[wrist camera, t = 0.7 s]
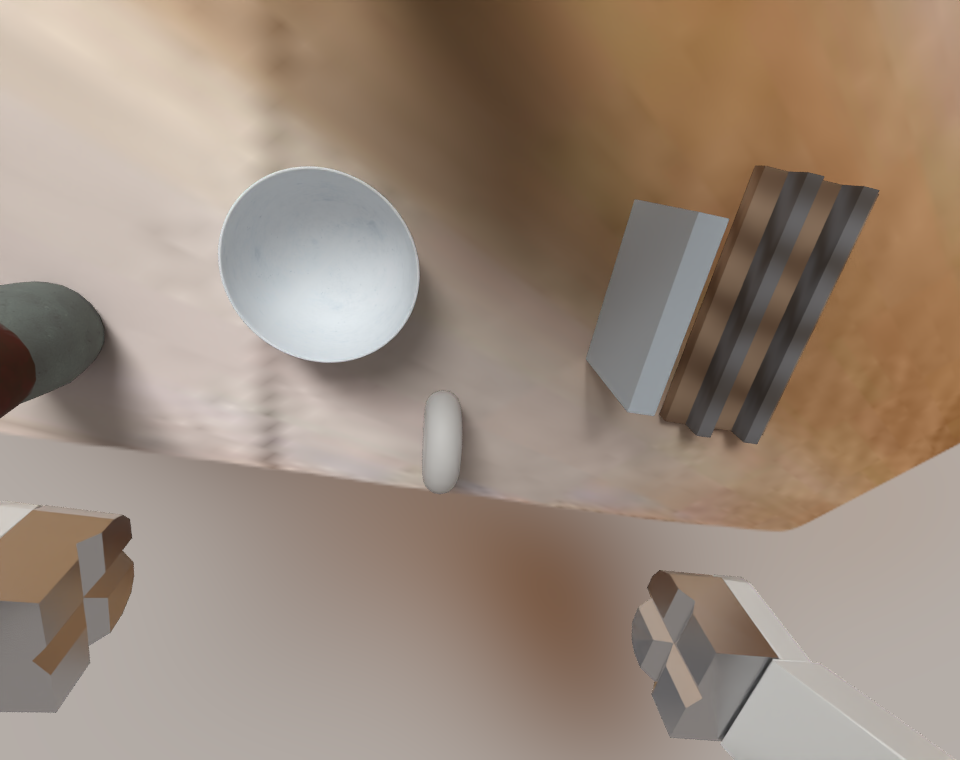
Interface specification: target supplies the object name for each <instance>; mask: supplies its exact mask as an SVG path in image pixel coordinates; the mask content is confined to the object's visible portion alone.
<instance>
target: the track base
mask: <svg viewBox="0 0 960 760" xmlns="http://www.w3.org/2000/svg"><path fill="white" fill-rule="evenodd" d="M823 179H824V176H821V175H817V174H813V173H809V172H788V171H784V170H780V169H776V168H772V167H768V166H755V168H754V170H753V173H752V176H751V178H750V181H749V183H748V186H747V189H746V191H745V194H744V196H743V199H742V202H741V204H740V207H739V209H738V212H737V215H736V217H735V220H734V222H733V225H732V227H731V230H730V233H729V235H728V238H727V240H726V243H725V246H724V248H723V251H722V253H721V256H720V259H719V261H718V264H717V266H716V269H715V272H714V274H713V277H712V279H711V282H710V285H709V287H708V290H707V292H706V295H705V298H704V300H703V303H702V305H701V308H700V311H699V313H698V316H697V318H696V321H695V324H694V326H693V329H692V331H691V334H690V337H689V339H688V342H687V344H686V347H685V350H684V352H683V355H682V357H681V360H680V363H679V365H678V368H677V370H676V373H675V376H674V378H673V381H672V383H671V386H670V389H669V391H668V394H667V396H666V399H665V402H664V404H663V407H662V409H661V412H660V416H661V417H662V418H663V419H664V420H665V421H667V422H674V423H681V424H686V425H687V426H688V427H689V428H690V429H691V430H692V432H693V433H694V434H695V435H696V436H702V437H711V435H712V432H713V430H714V428H715V429H722V430H729V431H732V432H733V433H734V434H735V435H736V436H737V437H738V438H740V439H741V440H742V441H743V442H745V443H752V444H758V441H759V439H760V437H761V435H763V434H764V431H765V429H766V427H767V425H768V423H769V421H770V419H771V417H772V415H773V413H774V411H775V409H776V407H777V405H778V402H779V400H780V398H781V396H782V394H783V392H784V390H785V388H786V386H787V384H788V382H789V380H790V378H791V376H792V374H793V371H794V369H795V367H796V365H797V363H798V361H799V359H800V357H801V355H802V353H803V351H804V349H805V347H806V345H807V342H808V340H809V338H810V336H811V334H812V332H813V330H814V328H815V326H816V324H817V322H818V320H819V318H820V316H821V313H822V311H823V309H824V307H825V305H826V303H827V301H828V299H829V297H830V295H831V293H832V291H833V289H834V287H835V284H836V282H837V280H838V278H839V276H840V274H841V272H842V270H843V268H844V266H845V264H846V262H847V260H848V258H849V255H850V253H851V251H852V249H853V247H854V245H855V243H856V241H857V239H858V237H859V235H860V233H861V231H862V229H863V226H864V224H865V222H866V220H867V218H868V216H869V214H870V212H871V210H872V208H873V206H874V204H875V202H876V200H877V197H878V195H879V194H878V192H879V190H877V189H873V188H869V187H865V186H851V185H841V184H837V183H832V182H828V181H824V180H823Z"/></svg>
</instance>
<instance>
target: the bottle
mask: <svg viewBox="0 0 960 760" xmlns="http://www.w3.org/2000/svg"><path fill="white" fill-rule="evenodd" d="M103 343H104V327H103V324H102V322H101V319H100V316H99V314H98V313H97V312H96V310H95V309H94V308H93V306H92V305H91V304H90V303H89V302H88V301H87V300H86V299H85V298H83V297H82V296H81V295H80V294H79V293H77V292H75V291H73V290H71V289H69V288H67V287H65V286H62V285H58V284H53V283H48V282H35V281H34V282H21V283H13V284H6V285H0V418H1V417H3V416H4V415H5V414H7V413H8V412H9V411H11V410H12V409H14V408H15V407H16V406H18V405H19V404H20V403H23V402H26V401H28V400H31V399H33V398H36V397H38V396H40V395H43V394H45V393H47V392H50V391H52V390H54V389H57V388H59V387H61V386H64V385H66V384H68V383H70V382H71V381H73V380H74V379H75V378H76V377H77V376H78V375H79V374H80V373H82V372H83V371H84V370H85V369H86V368H87V367H88V366H89V365H90V364H91V363H92V362H93V361H94V360H95V359H96V357H97V356H98V354H99V352H100V350H101V348H102V345H103Z"/></svg>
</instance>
